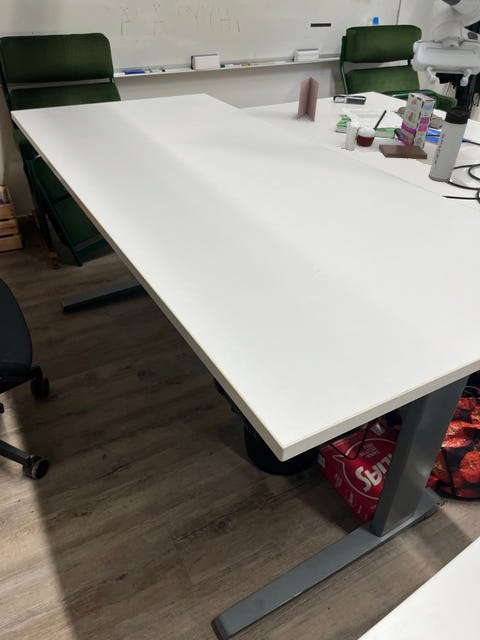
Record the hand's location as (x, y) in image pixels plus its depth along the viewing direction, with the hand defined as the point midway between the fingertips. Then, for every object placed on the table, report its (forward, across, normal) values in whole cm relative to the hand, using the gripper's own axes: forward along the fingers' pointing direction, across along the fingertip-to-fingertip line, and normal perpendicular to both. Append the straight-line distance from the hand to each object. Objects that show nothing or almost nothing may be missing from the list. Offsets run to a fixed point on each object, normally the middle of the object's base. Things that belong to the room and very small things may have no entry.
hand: (448, 83), depth 141 cm
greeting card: (-18, -35, +53) cm, 65 cm away
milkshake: (+9, -23, +26) cm, 36 cm away
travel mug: (+26, 0, +8) cm, 27 cm away
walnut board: (+9, -5, +25) cm, 27 cm away
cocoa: (+4, -16, +30) cm, 35 cm away
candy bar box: (+2, 0, +33) cm, 33 cm away
